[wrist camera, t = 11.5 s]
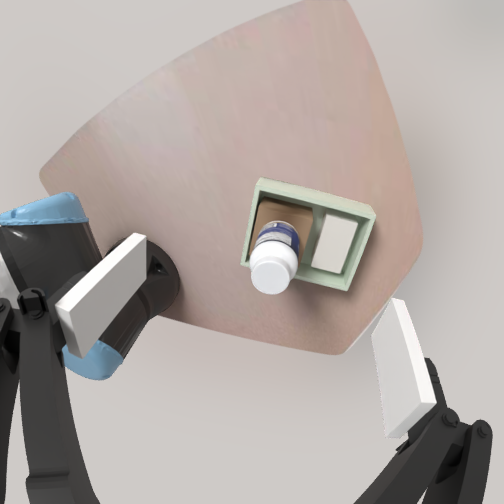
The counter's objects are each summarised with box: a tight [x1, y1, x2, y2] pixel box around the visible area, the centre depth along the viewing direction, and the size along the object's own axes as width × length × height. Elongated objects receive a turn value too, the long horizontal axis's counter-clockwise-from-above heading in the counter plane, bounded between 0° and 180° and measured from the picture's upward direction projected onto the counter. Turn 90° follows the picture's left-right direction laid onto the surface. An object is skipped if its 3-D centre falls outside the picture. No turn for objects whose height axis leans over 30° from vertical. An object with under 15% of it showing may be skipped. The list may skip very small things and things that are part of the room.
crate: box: [240, 177, 376, 291], centre depth 42 cm, size 16×12×4 cm
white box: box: [311, 208, 358, 274], centre depth 42 cm, size 4×8×3 cm, turn 169°
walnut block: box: [249, 196, 313, 268], centre depth 41 cm, size 7×7×5 cm
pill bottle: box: [249, 221, 299, 294], centre depth 35 cm, size 5×5×10 cm
